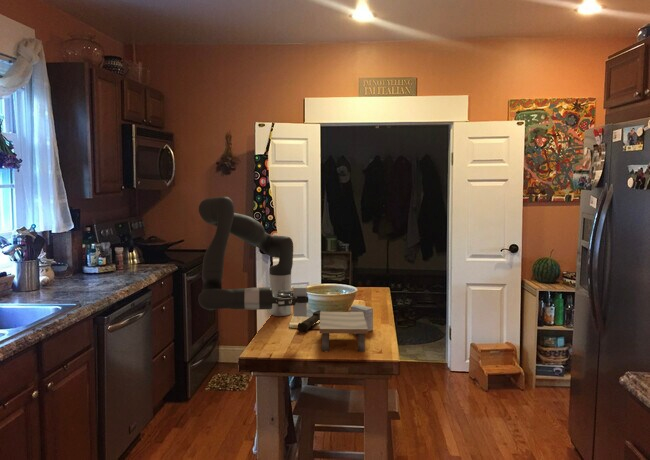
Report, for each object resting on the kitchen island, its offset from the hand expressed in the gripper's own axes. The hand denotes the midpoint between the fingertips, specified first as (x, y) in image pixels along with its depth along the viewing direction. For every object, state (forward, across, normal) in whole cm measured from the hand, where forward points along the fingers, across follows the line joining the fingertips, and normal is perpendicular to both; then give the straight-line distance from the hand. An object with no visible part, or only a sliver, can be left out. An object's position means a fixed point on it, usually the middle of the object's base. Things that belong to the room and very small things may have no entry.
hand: (307, 297), depth 182 cm
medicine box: (+22, +16, +17) cm, 32 cm away
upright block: (-3, 0, +6) cm, 7 cm away
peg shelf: (+12, 0, +16) cm, 20 cm away
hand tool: (+2, +22, +17) cm, 28 cm away
